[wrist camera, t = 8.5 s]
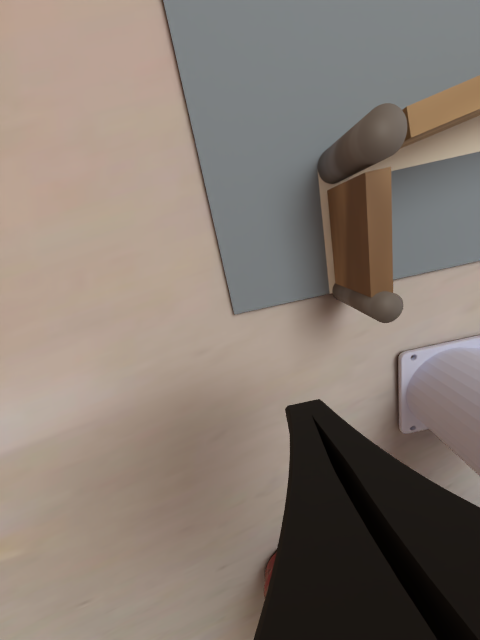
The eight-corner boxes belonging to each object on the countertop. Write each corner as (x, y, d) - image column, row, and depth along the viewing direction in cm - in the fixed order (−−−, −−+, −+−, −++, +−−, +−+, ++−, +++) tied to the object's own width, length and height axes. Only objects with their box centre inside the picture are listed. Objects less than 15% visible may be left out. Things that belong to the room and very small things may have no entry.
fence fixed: (348, 143, 15) (407, 98, 10) (357, 296, 18) (406, 318, 13) (315, 151, 15) (359, 109, 10) (330, 302, 18) (369, 326, 13)
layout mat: (595, -178, 12) (605, -189, 12) (530, 248, 18) (536, 248, 18) (146, -74, 12) (144, -82, 12) (234, 313, 18) (234, 314, 18)
